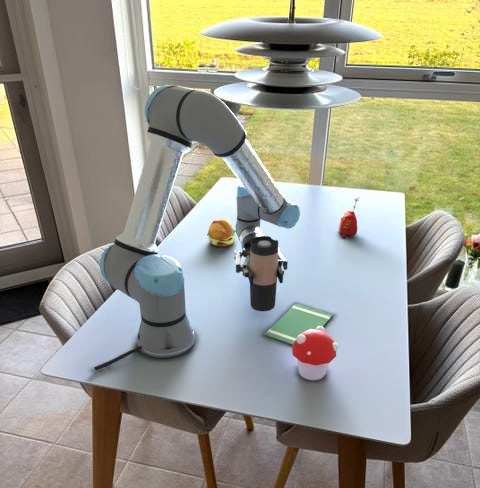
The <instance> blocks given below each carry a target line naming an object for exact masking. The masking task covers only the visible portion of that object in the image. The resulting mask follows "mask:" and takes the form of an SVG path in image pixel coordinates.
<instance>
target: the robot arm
mask: <svg viewBox="0 0 480 488" xmlns="http://www.w3.org/2000/svg"><path fill="white" fill-rule="evenodd" d="M144 117H145V118H146V119H145V122H146V123H147V126H148V127H147V131H146V135H147V137H148V140H149V147H148V150H147V153H146V157H145V160H144V163H143V167H142V169H141V174H140V176H139V180H138V182H137V186H136V190H135V192H134V196H133V200H132V203H131V207H130V209H129V214H128V217H127V220H126V223H125V227H124V231H123V232H122V233H121V234H118V235H117V236H116V237H115V240H114V242H113V243H111V244H110V245H108V247H106V248H105V249H104V250H103V252H102V254H101V255H100V259H99V271H100V274H101V276H102V278H103V280H104V281H105V282H107V283H108V284H109V285H110V286H111V287H112V288H113V289H115V290H118V291H119V292H121V293H123V294H124V295H126V296H128V298H131V299H133V300H134V301H135V302H137V303H138V305H139V310H140V324H139V327H138V333H137V336H136V337H137V338H136V341H137V346H136V347H134V348H132V349H130V350H128V351H126V352H124V353H121V354H120V355H118V356H116V357H114V358H112V359H110V360H108V361H106V362H103V363H101V364H98V365H96V366H94V367H93V369H94V370H95V371H99V370H101V369H104V368H107V367H109V366H110V365H113V364H115V363H117V362H118V361H121V360H123V359H125V358H126V357H129V356H131V355H132V354H135V353H136V352H137V353H138V352H139V351H140V352H141V353H142V354H144V355H145V356H147V357H150V358H154V359H172V358H176V357H179V356H181V355H183V354H185V353H187V352H189V351H190V350H191V349H192V348H193V346H194V345H195V341H196V337H195V336H196V335H195V331H194V328H193V327H192V325H191V322H190V320H189V319H188V316H187V309H186V293H185V291H186V290H185V277H184V272H183V267H182V266H181V264H180V263H179V261H177V260H176V259H175V258H173V257H171V256H168V255H160V254H159V249H158V247H157V243H156V241H157V239H158V235H159V233H160V229H161V225H162V222H163V220H164V217H165V214H166V210H167V208H168V207H167V206H168V204H169V200H170V198H171V194H172V190H173V188H174V185H175V181H176V179H177V175H178V172H179V168H180V165H181V162H182V159H183V156H184V154H186V153H188V152H190V151H191V150H192V147H193V144H194V142H196V143H198V144H201V145H203V146H204V147H206V148H208V149H209V150H210V151H211V153H212V154H213V155H214V156H215V157H216V158H219V159H222V160H223V161H224V162H225V164H226V165H227V167H228V168H229V169H230V170H231V172H232V173H233V174H234V176H235V178H237V180H238V181H239V182H240V183H239V184H238V185H237V188H236V222H235V231H236V232H235V234H236V236H237V238H238V241H239V243H240V246H241V251H239V250H238V249H234V251H233V259H234V261H235V273H237V274H239V273H242V276H243V277H244V278H248V282H249V286H250V285H253V274H252V271H251V269H250V247H251V240H252V239H253V238H255V237H259V236H264V235H263V232H262V230H261V221H264V222H267V223H269V224H272V225H275V226H277V227H279V228H284V229H288V230H290V229H292V228H294V227H295V226H296V225H297V223H298V222H299V220H300V216H301V210H300V207H299V206H298V205H297V204H295V203H293V201H288V200H287V199H286V197H285V196H284V195H283V193H282V191H281V189H280V188H279V187H278V185H277V184H276V182H275V181H274V179H273V178H272V177H271V175H270V173H269V172H268V170H267V169H266V166H264V165H263V163H262V161H261V160H260V158H259V157H258V155H257V153H256V152H255V150H254V149H253V148H252V146H251V144H250V143H249V141H248V140H247V137H248V136H247V131H246V129H245V128H244V126H243V125H242V123H241V121H240V120H239V119H238V118H237V116H236V115H235V114H234V112H233V111H232V110H231V109H230V107H228V106H227V104H226V103H225V102H224V101H222V99H220V97H217V96H216V95H215V94H213V93H211V92H210V91H206V90H202V89H196V88H190V87H187V86H182V85H178V84H171V85H170V84H164V85H161V86H159V87H157V88H155V89H154V90H153V91H152V92H151V93H150V94H149V96H148V98H147V100H146V101H145V105H144ZM242 258H245V259H244V261H243V263H242V264H241V260H242ZM288 262H289V261H288V260H287V258H286V257H285V256H284V254H283V253H282V252H281V251H280V247H278V267H277V281H278V282H279V284H283V283H284V275H285V271H287V270H288Z"/></svg>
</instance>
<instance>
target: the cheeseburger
mask: <svg viewBox="0 0 480 488" xmlns="http://www.w3.org/2000/svg"><path fill="white" fill-rule="evenodd" d="M206 236H207V239H208V240H209V243H210V244H211V245H213V246H216V247H228V246H232V245H233V244H234V243H235V238H236V229H234V228H233V225H232V223H231V222H230V221H229V220H228V219H223V218H220V219H216V220H213V221H212V222H211V223H210V225H209V227H208V230H207V233H206Z"/></svg>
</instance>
